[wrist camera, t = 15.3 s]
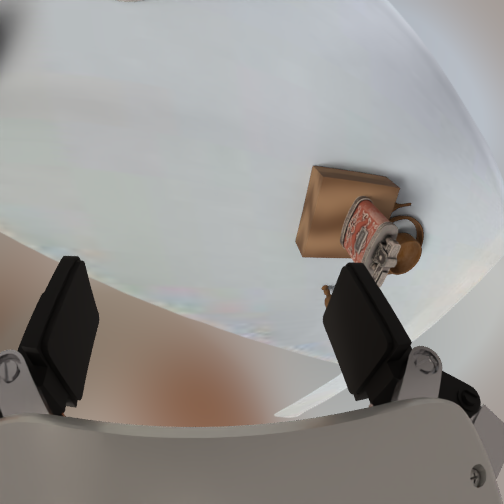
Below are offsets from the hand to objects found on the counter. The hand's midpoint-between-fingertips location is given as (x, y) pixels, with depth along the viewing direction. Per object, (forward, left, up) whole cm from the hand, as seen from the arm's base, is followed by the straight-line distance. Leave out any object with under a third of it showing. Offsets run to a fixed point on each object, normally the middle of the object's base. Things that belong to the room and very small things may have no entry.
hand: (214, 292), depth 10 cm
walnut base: (+10, +20, -28) cm, 36 cm away
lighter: (+10, +20, -24) cm, 33 cm away
